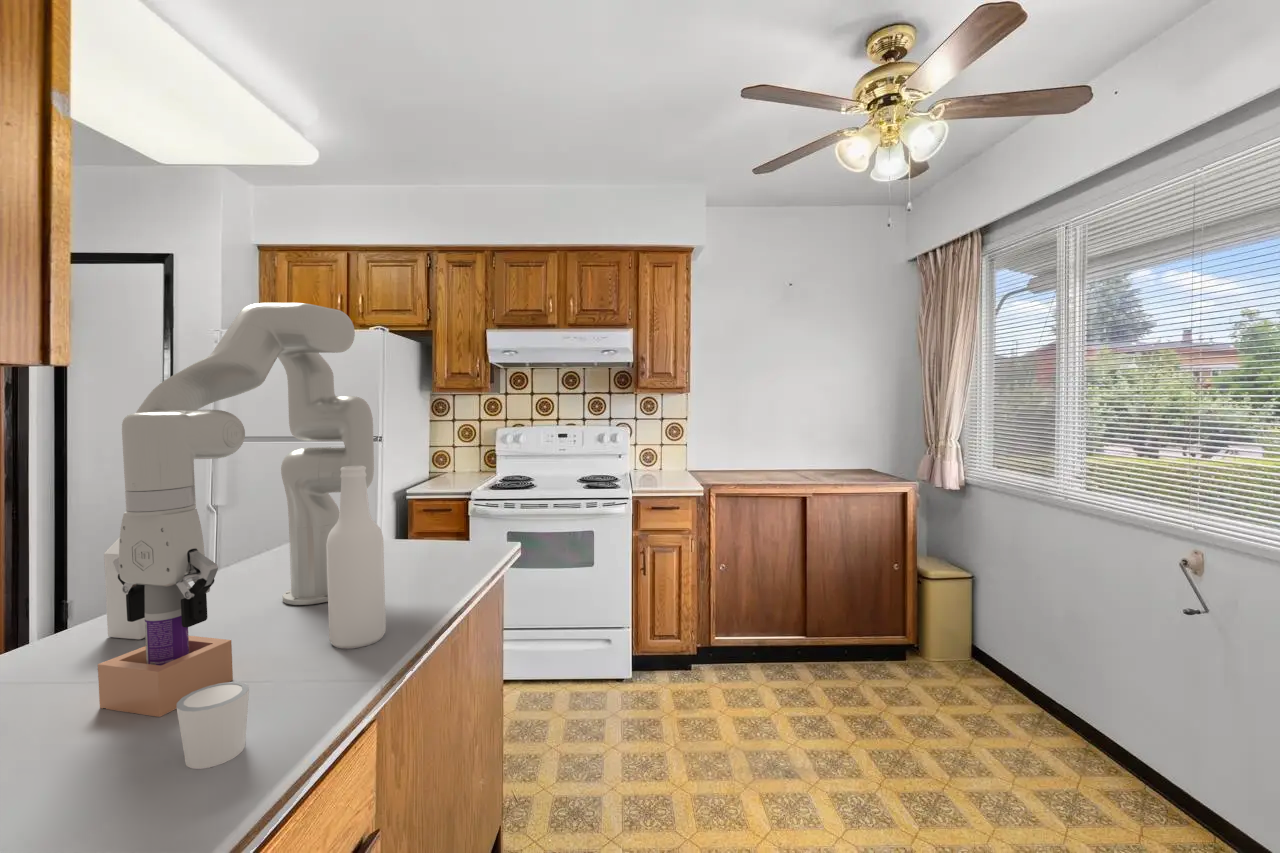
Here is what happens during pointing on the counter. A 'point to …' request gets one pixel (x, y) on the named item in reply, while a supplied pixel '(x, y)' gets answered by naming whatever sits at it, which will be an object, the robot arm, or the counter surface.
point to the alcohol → (355, 568)
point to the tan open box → (163, 677)
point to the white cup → (213, 723)
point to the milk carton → (118, 601)
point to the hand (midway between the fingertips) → (167, 621)
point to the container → (164, 625)
